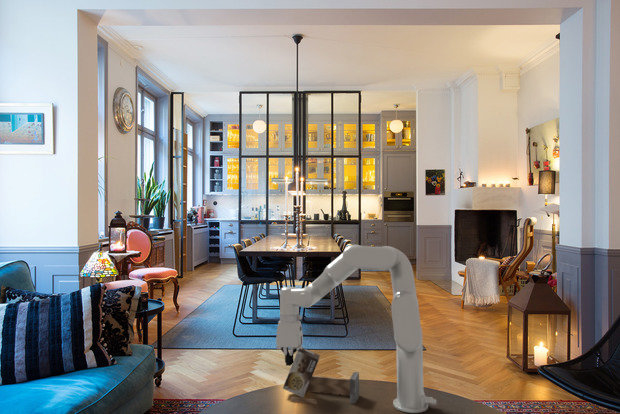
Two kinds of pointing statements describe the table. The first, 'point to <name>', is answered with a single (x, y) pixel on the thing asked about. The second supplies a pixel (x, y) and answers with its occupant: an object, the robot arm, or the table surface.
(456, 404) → the table surface
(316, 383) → the book slot
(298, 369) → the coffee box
